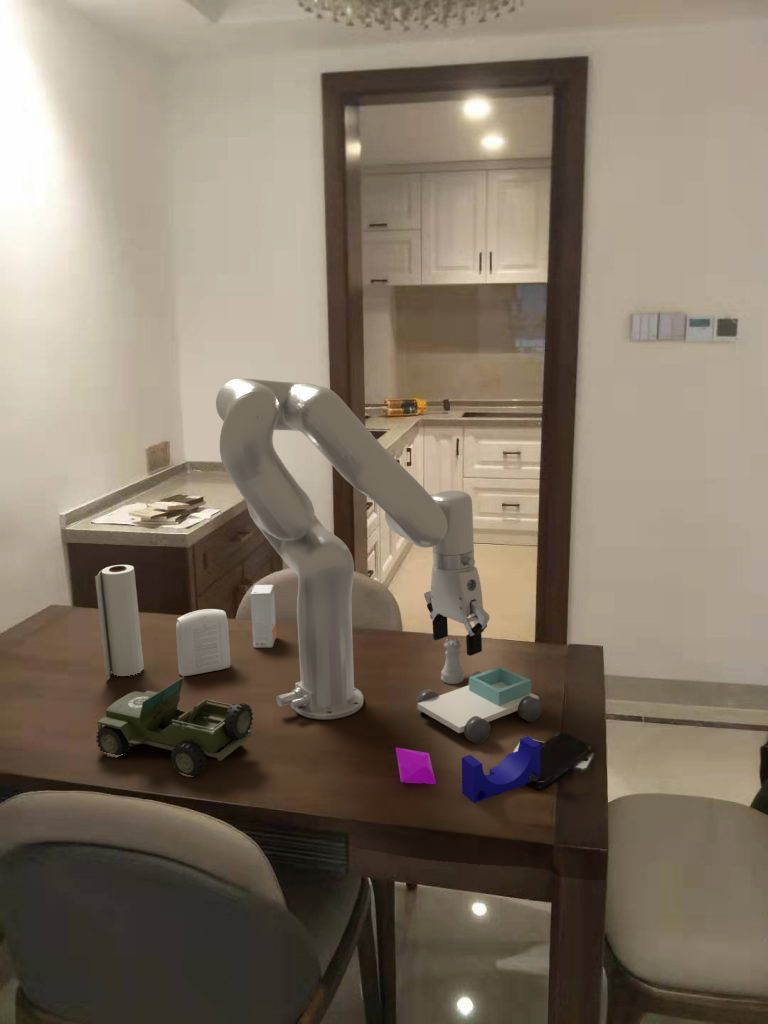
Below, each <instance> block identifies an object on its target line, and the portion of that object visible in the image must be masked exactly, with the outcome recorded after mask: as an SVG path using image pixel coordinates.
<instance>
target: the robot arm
mask: <svg viewBox="0 0 768 1024" xmlns="http://www.w3.org/2000/svg"><path fill="white" fill-rule="evenodd" d="M215 407H216V412H217V414H218V416H219V417H220V419H221V420H222V422H223V424H222V425H221V430H220V435H219V454H220V459H221V464H222V466H223V467H224V469H225V471H226V473H227V475H228V477H229V478H230V480H231V481H232V482H233V484H234V485H235V487H236V489H237V490H238V492H239V493H240V494H241V496H242V497H243V499H244V500H245V501H246V504H247V505H246V506H247V510H248V514H249V516H250V518H251V519H252V521H253V522H254V524H255V525H256V527H257V528H258V529H259V530H260V532H261V533H262V534H263V536H264V537H265V538H266V539H267V541H268V542H269V544H270V545H271V546H272V547H273V549H274V550H275V551H276V552H277V554H278V556H280V557H281V559H282V560H283V561H284V563H285V564H286V565H287V566H288V568H290V570H292V571H293V573H294V574H295V575H296V576H297V579H298V587H297V591H298V592H297V598H296V599H297V600H296V618H297V619H296V621H297V634H298V635H297V639H298V654H299V655H298V657H299V658H298V659H299V678H300V680H299V681H297V682H295V685H294V687H295V688H294V689H292V690H291V691H290V692H287V693H283V694H280V695H276V697H275V700H276V704H277V706H278V707H284V706H287V705H290V708H291V709H293V710H294V711H295V712H296V713H297V714H299V715H300V716H302V717H305V718H309V719H314V720H336V719H341V718H345V717H348V716H350V715H353V714H355V713H357V712H358V711H359V710H360V709H361V708H362V707H363V705H364V694H363V693H362V691H361V690H360V689H358V688H356V687H355V673H354V671H355V669H354V643H353V620H352V619H353V617H352V615H353V614H352V613H353V612H352V597H353V596H352V594H353V593H352V592H353V583H354V576H355V574H354V573H355V563H354V558H353V554H352V553H351V551H350V549H349V547H348V546H347V545H346V543H345V542H344V541H343V540H342V539H341V538H340V537H339V536H336V535H335V534H334V533H333V532H331V531H329V530H328V529H327V528H326V527H325V526H324V525H323V524H322V522H321V521H320V520H319V518H318V517H317V516H316V515H315V508H314V506H313V502H312V500H311V499H310V496H308V494H307V493H306V491H304V489H302V487H301V486H300V485H299V483H298V482H297V480H295V478H294V476H293V475H292V474H291V473H290V471H289V470H288V468H287V467H286V466H285V464H284V463H283V461H282V459H281V457H279V455H278V453H277V451H276V450H275V447H274V443H273V437H274V431H292V432H293V431H295V432H296V431H297V432H301V433H302V434H303V435H304V436H305V437H306V438H307V439H308V440H309V441H310V443H311V444H313V445H314V446H315V448H316V449H317V450H318V451H319V452H320V453H321V455H323V456H324V457H325V459H326V460H327V461H328V462H329V463H330V464H331V465H332V466H333V467H334V469H335V470H336V471H337V472H338V473H339V474H340V475H341V477H342V478H343V479H344V480H345V481H347V482H348V483H349V484H350V485H351V486H353V487H354V488H355V490H357V491H359V492H360V493H362V494H363V495H365V496H366V497H367V498H369V499H370V500H372V502H374V503H375V504H376V505H378V507H380V508H381V509H382V510H383V511H384V519H385V522H386V524H387V526H388V527H389V529H390V530H391V531H393V533H395V534H397V535H399V536H400V537H401V538H403V539H405V540H406V541H409V542H410V543H411V544H413V545H415V546H417V547H418V548H427V549H428V548H431V549H432V567H431V578H430V579H431V580H430V590H429V591H427V592H424V593H423V596H424V599H425V602H426V608H427V609H428V611H429V613H430V614H429V617H430V619H431V621H432V639H433V640H434V641H438V640H441V639H444V638H446V637H448V636H449V630H448V629H449V627H448V619H451V620H452V621H454V622H457V623H460V624H463V626H464V627H465V630H466V631H467V634H466V635H465V638H466V639H465V642H466V654H467V656H469V657H470V656H474V655H476V654H479V653H481V652H482V651H483V645H482V644H483V643H482V641H483V640H482V639H483V638H482V634H483V633H484V632H485V630H486V628H487V627H488V622H489V620H490V614H489V613H488V612H487V611H486V610H485V609H484V603H483V602H484V601H483V595H482V594H483V593H482V586H481V578H480V574H479V571H478V568H477V567H476V566H475V563H476V560H475V549H474V547H475V546H474V543H475V542H474V521H473V520H474V519H473V517H474V516H473V515H474V513H473V500H472V497H471V496H470V494H469V493H467V492H464V491H460V490H444V491H441V492H436V493H435V494H429V493H428V492H427V491H426V489H425V488H424V487H423V486H422V485H421V483H419V482H418V480H417V479H416V478H414V476H413V475H411V474H410V473H409V472H408V471H407V470H406V468H404V467H403V466H402V465H401V463H399V462H398V460H396V458H395V457H394V456H393V455H392V454H391V453H390V452H389V451H387V450H388V449H386V448H385V447H384V446H383V445H382V444H381V443H380V442H379V440H377V438H375V436H374V435H373V434H372V432H370V430H369V429H368V428H367V427H366V426H365V425H364V423H363V422H362V421H361V420H360V419H359V417H357V415H356V414H355V413H354V412H353V411H352V410H351V408H350V407H349V406H348V405H347V403H346V402H345V401H344V400H343V399H342V398H341V397H340V396H339V395H338V394H337V393H336V392H335V391H333V390H332V389H330V388H328V387H325V386H322V385H317V384H314V383H308V382H288V381H277V380H276V381H275V380H267V379H266V380H265V379H256V378H255V379H254V378H242V377H241V378H240V377H239V378H235V379H231V380H229V381H227V382H226V383H224V384H223V385H222V386H221V387H220V389H219V391H218V393H217V395H216V399H215ZM472 622H473V624H474V626H472V624H471V623H472Z"/></svg>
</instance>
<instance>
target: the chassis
mask: <svg viewBox="0 0 768 1024" xmlns="http://www.w3.org/2000/svg"><path fill="white" fill-rule="evenodd" d="M539 698H540V696H539V695H536V694H534V693H532V679H529V678H527V677H524V676H522V675H521V674H518V673H516V672H514V671H512V670H510V669H508V668H506V667H504V666H497V667H495V668H491V669H489V670H486V671H484V672H482V671H479V670H478V671H475V672H473V673H472V674H471V675H470V677H468V682H467V685H465V686H463V687H460V688H456V689H454V690H451V691H448V692H446V693H445V692H444V693H443V694H438V693H436V692H434V691H433V690H431V689H428V688H427V689H424V690H421V691H420V692H419V694H418V695H417V697H416V700H415V708H416V709H417V710H418V711H420V712H421V713H423V714H425V715H428V716H429V717H430V718H432V719H435V721H437V722H439V723H441V724H443V725H445V727H448V728H450V729H451V730H452V731H455V732H456V733H458V734H461V733H463V734H464V737H465V738H466V739H467V740H469V741H471V742H472V743H474V744H477V745H479V744H482V743H483V742H485V741H486V740H487V738H488V737H489V735H490V731H491V726H490V722H492V721H494V720H497V719H499V718H502V717H504V716H508V715H509V714H512V713H515V712H517V714H518V716H519V718H521V719H523V720H525V721H527V722H529V723H533V722H535V721H537V720H538V719H539V717H540V716H541V714H542V711H543V703H542V701H541V700H540V699H539Z"/></svg>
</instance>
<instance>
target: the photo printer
mask: <svg viewBox="0 0 768 1024" xmlns="http://www.w3.org/2000/svg"><path fill="white" fill-rule="evenodd" d="M175 623H176V624H175V625H176V626H175V635H176V650H177V661H178V662H177V663H178V673H179V675H181V676H182V677H183V676H184V677H188V676H195V675H199V674H205V673H210V672H214V671H220V670H225V669H229V668H230V667H231V653H230V652H231V651H230V650H231V649H230V634H229V633H230V632H229V620H228V616H227V613H226V611H225V610H222V609H217V608H205V609H198V610H195V611H192V612H191V611H190V612H188V613H185V614H183V615H181V616H180V617H179V616H178V618H176V622H175Z"/></svg>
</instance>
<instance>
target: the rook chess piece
mask: <svg viewBox="0 0 768 1024" xmlns="http://www.w3.org/2000/svg"><path fill="white" fill-rule="evenodd" d="M443 647H444V648H445V650H446V651H445V652H444V654H445V663H444V666H443V668H442V670H441V673H440V674H441V675H440V679H441V681H443V682H444V683H446V684H448V685H458V684H460V683H462V682H463V681H464V679H465V671H464V670H463V668H462V666H461V663H460V654H461V651H460V648H461V647H462V644H461V642H460V640H459V639H458V638H456V637H455V638H454V637H450V638H449V637H448V638H446V639H445V643H443Z"/></svg>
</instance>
